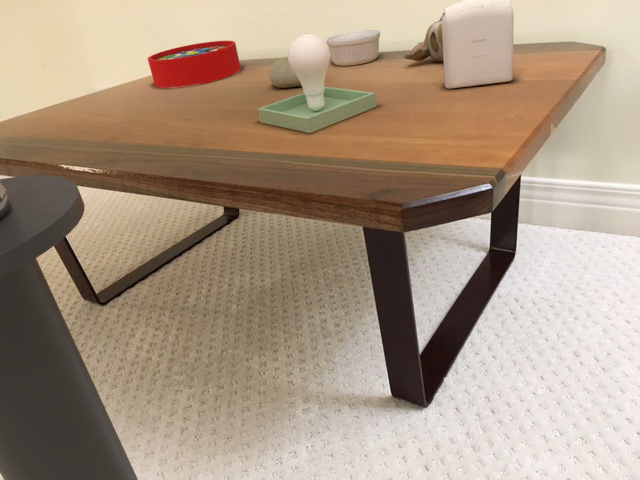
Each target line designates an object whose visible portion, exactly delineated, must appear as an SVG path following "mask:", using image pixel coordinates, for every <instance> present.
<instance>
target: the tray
mask: <svg viewBox="0 0 640 480" xmlns="http://www.w3.org/2000/svg"><path fill="white" fill-rule="evenodd" d="M324 87H325V91H324V102H325V103H324V104H325V105H324V106H323V107H322V108H321V109H320V110H319V111H314V110H313V109H310V108H309V107H308V104H307V99H306V95H305V94H304V92H302V93H299V94H297V95H293V96H290V97H288V98H285V99H281V100H279V101H276V102H273V103H269V104H267V105H264V106H260V107H259V108H257V114H258V119H259V122H260V123H261V124H267V125H272V126H275V127H281V128H284V129H289V130H294V131H298V132H303V133H306V134H312V133H314V132H317V131H319V130H322V129H325V128H327V127H329V126H332V125H334V124H337V123H339V122H342V121H344V120H347V119H349V118H351V117H354V116H357V115H359V114H362V113H365V112H367V111H370V110H372V109H374V108H377V106H378V105H377V95H376V92H371V91H363V90H362V91H361V90H354V89H348V88H347V89H346V88H338V87H332V86H331V87H330V86H324Z"/></svg>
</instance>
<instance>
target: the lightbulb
mask: <svg viewBox="0 0 640 480" xmlns="http://www.w3.org/2000/svg"><path fill="white" fill-rule="evenodd" d="M287 57H288V62H289V65H290V67H291V69H292V70H293V72H294V73H295V74H296V76H297V77H298V79H299V80H300V82H301V85H302V86H301V87H302V91H303V93H304V94H305V95H306V99H307V104H308V107H309V108H310V109H313V110H314V111H319V110H320V109H321V108H322V107H323V106H324V105H325V104H324V103H325V102H324V91H325V87H326V86H325V79H326V74H327V71H328V69H329V65H330V62H331V54H330V51H329V47H328V45H327V43H326V40H324V39H323V38H322V37H320V36H319V35H316V34H313V33H312V34H311V33H305V34H302V35H300V36H297V37H296V38H295V39H294V40H293V41H292V42H291V44H290V46H289V48H288V52H287Z"/></svg>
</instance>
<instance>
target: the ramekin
mask: <svg viewBox="0 0 640 480" xmlns="http://www.w3.org/2000/svg"><path fill="white" fill-rule="evenodd" d="M380 37H381V32H380V31H379V30H378V29H363V30H356V31H355V30H354V31H349V32H344V33H340V34H336V35H332V36H329V37H328V38H326V40H325V42H326V44H327V46H328V48H329V51H330V59H331V60H332V62H333V64H334V65H336V66H340V67H341V66H343V67H347V66H348V67H349V66H357V65H361V64H366V63H371V62H373V61H375V60H376V59H377V57H378V56H379V51H380V50H379V49H380Z"/></svg>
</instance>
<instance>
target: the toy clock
mask: <svg viewBox="0 0 640 480" xmlns="http://www.w3.org/2000/svg"><path fill="white" fill-rule="evenodd" d="M147 63H148V65H149V69H150V73H151V76H152V79H153V83H154V87H156V88H161V89H178V88H187V87H192V86H198V85H203V84H207V83H212V82H215V81H220V80H222V79H226V78H229V77H231V76H234V75H236V74H237V73H239V72H241V70H242V67H241V62H240V58H239V52H238V49H237V44H236V42H235V41H234V40H214V41H206V42H199V43H193V44H188V45H184V46H178V47H173V48H170V49H165V50H163V51H160V52H156V53H153V54H151V55H150V56H148V57H147Z"/></svg>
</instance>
